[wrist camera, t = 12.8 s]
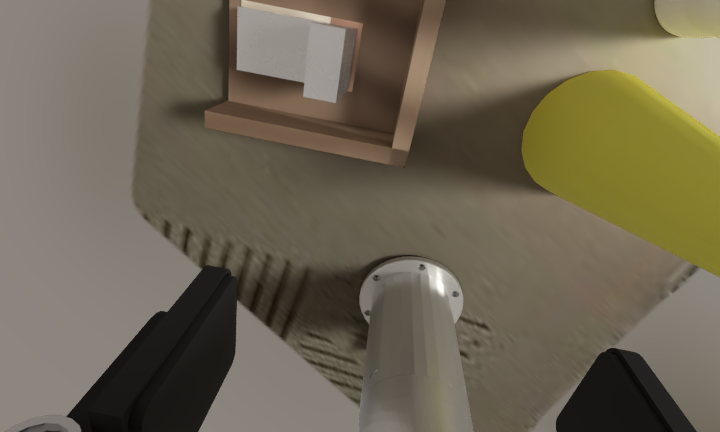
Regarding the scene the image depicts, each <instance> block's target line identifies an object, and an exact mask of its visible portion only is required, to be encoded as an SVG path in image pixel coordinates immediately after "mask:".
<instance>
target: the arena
mask: <svg viewBox="0 0 720 432" xmlns="http://www.w3.org/2000/svg"><path fill="white" fill-rule="evenodd" d="M445 3H446V0H229V92H228V101H226V102H224V103H221V104H219V105H216V106H214V107H212V108H209V109H207V110H205V128H210V129H215V130H220V131H224V132H229V133H234V134H239V135H244V136H249V137H254V138H259V139H264V140H269V141H274V142H279V143H284V144H289V145H294V146H299V147H304V148H309V149H314V150H319V151H324V152H329V153H334V154H339V155H344V156H349V157H354V158H359V159H364V160H369V161H374V162H379V163H384V164H389V165H394V166H399V167H404V168H405V166H406V162H407V158H408V154H409V150H410V146H411V142H412V138H413V134H414V129H415V125H416V121H417V117H418V113H419V109H420V105H421V101H422V97H423V93H424V89H425V85H426V80H427V76H428V72H429V68H430V64H431V60H432V56H433V52H434V48H435V44H436V40H437V36H438V31H439V27H440V23H441V19H442V15H443V11H444V7H445ZM238 6H239V7H247V8H252V9H257V10H263V11H268V12H273V13H279V14H284V15H289V16H294V17H300V18H305V19H310V20H316V21H321V22H326V23H331V24H337V25H342V26H347V27H353V28H358V35H357V41H356V48H355V55H354V62H353V69H352V75H351V82H350V88H349V89H348V90H347V91H346V92H345V93H344V95H343V96H342V97H341V98H340V99H339V100H338V101H337V102H336V103H333V102H327V101H322V100H317V99H312V98H307V97H303V92H304V83H303V82H298V81H293V80H287V79H282V78H277V77H272V76H267V75H261V74H256V73H251V72H246V71H241V70H237V9H238Z"/></svg>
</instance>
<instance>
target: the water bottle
mask: <svg viewBox="0 0 720 432" xmlns="http://www.w3.org/2000/svg"><path fill="white" fill-rule="evenodd" d="M655 13H656V17H657V19H658V21H659V23H660V24H661V26H662V27H663V28H664V29H665V30H666V31H668V32H669V33H671V34H673V35H676V36H679V37H686V38H709V37H718V38H720V0H655Z"/></svg>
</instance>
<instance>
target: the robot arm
mask: <svg viewBox="0 0 720 432" xmlns="http://www.w3.org/2000/svg"><path fill="white" fill-rule="evenodd" d="M359 305H360V309H361V312H362V314H363V316H364V318H365V320H366V321H367V322H368V323H369V330H368V340H367V349H366V358H365V367H364V376H363V386H362V395H361V404H360V412H359V432H473V426H472V421H471V415H470V410H469V404H468V398H467V392H466V387H465V381H464V376H463V370H462V364H461V359H460V353H459V347H458V342H457V336H456V331H455V325H454V324H455V323H456V322H457V320H458V318H459V317H460V315H461V312H462V308H463V295H462V290H461V287H460V284H459V282H458V280H457V279H456V277H455V276H454V275H453V274H452V273H451V272H450V271H449V270H448V269H447V268H446V267H444V266H443V265H441V264H440V263H438V262H435V261H433V260H431V259H427V258H423V257H415V256H406V257H398V258H394V259H390V260H387V261H385V262H383V263H381V264H379V265H378V266H376V267H375V268H373V270H372V271H371V272H370V273H369V274H368V275H367V276H366V278H365V279H364V281H363V283H362V286H361V289H360V295H359ZM236 310H237V277H234V276H231V271H230V270H229V269H224V268H219V267H214V266H209V265H207V266H205V267H204V268H203V269H202V271H201V272H200V273H199V274H198V276H197V277H196V278H195V279H194V280H193V282H192V283H191V284H190V285H189V287H188V288H187V289H186V290H185V292H184V293H183V294H182V295H181V296H180V297H179V299H178V300H177V301H176V302H175V304H174V305H173V306H172V307H171V308H170V310H169V311H168V312H164V311H160V312H158V313H156V314H155V315H154V316H153V317H152V318H151V319H150V320H149V321H148V322H147V323H146V325H145V326H144V327H143V328H142V329H141V330H140V331H139V333H138V334H137V335H136V336H135V337H134V338H133V340H132V341H131V342H130V343H129V344H128V345H127V347H126V348H125V349H124V350H123V351H122V352H121V354H120V355H119V356H118V357H117V358H116V359H115V361H114V362H113V363H112V364H111V365H110V366H109V368H108V369H107V370H106V371H105V372H104V373H103V374H102V376H101V377H100V378H99V379H98V380H97V382H96V383H95V384H94V385H93V386H92V387H91V389H90V390H89V391H88V392H87V393H86V394H85V396H84V397H83V398H82V399H81V400H80V401H79V403H78V404H77V405H76V406H75V407H74V408H73V409H72V411H71V412H70V413H69V414H68V415H67V416H66V417H65V416H61V415H46V416H41V417H37V418H33V419H29V420H27V421H25V422H22V423H20V424H18V425H16V426H13V427H12V428H10V429H8V430H7V431H5V432H198V431H199V429H200V427H201V425H202V423H203V421H204V419H205V417H206V415H207V413H208V411H209V409H210V407H211V404H212V403H213V401H214V399H215V397H216V395H217V393H218V391H219V389H220V387H221V385H222V383H223V381H224V379H225V377H226V375H227V373H228V371H229V369H230V367H231V365H232V363H233V360H234V356H235V346H236ZM556 431H557V432H697V431H696V430H695V429H694V427H693V426H692V425H691V423H690V422H689V421H688V419H687V418H686V416H685V415H684V414H683V412H682V411H681V410H680V408H679V407H678V405H677V404H676V403H675V401H674V400H673V399H672V397H671V396H670V394H669V393H668V392H667V390H666V389H665V388H664V386H663V385H662V383H661V382H660V381H659V379H658V378H657V377H656V375H655V374H654V372H653V371H652V370H651V368H650V367H649V366H648V364H647V363H646V362H645V360H644V359H643V358H642V357H641V356H640V354H638V353H635V352H631V351H626V350H621V349H616V348H610V349H608V350H607V351H606V352H603V353H601V354H600V355H599V356H598V357H597V359H596V360H595V362H594V363H593V365H592V366H591V368H590V369H589V371H588V372H587V374H586V375H585V377H584V378H583V380H582V381H581V383H580V384H579V386H578V387H577V389H576V390H575V392H574V393H573V395H572V396H571V398H570V399H569V401H568V402H567V404H566V405H565V407H564V408H563V410H562V411H561V413H560V414H559V416H558V418H557V420H556Z"/></svg>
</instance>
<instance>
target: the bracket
mask: <svg viewBox="0 0 720 432" xmlns="http://www.w3.org/2000/svg"><path fill="white" fill-rule="evenodd" d="M357 35H358V28H353V27H347V26H342V25H337V24H331V23H326V22H321V21H316V20H310V19H305V18H300V17H294V16H289V15H284V14H279V13H273V12H268V11H263V10H257V9H252V8H247V7H239V6H238V9H237V70H241V71H246V72H251V73H256V74H261V75H267V76H272V77H277V78H282V79H287V80H293V81H298V82H303V83H304V92H303V97H307V98H312V99H317V100H322V101H327V102H333V103H336V102H337V101H338V100H339V99H340V98H341V97H342V96H343V95H344V93H345V92H346V91H347V90H348V89H349V88H350V82H351V75H352V69H353V62H354V55H355V48H356V41H357Z"/></svg>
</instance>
